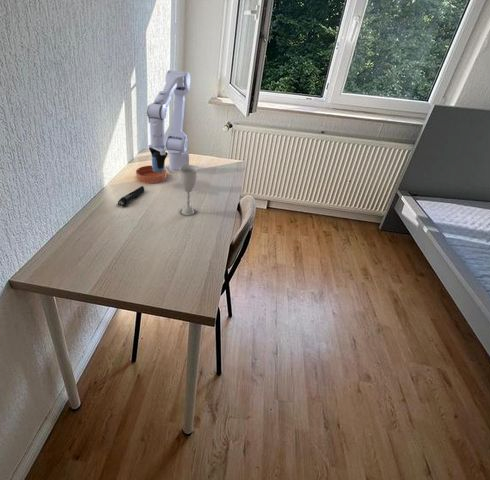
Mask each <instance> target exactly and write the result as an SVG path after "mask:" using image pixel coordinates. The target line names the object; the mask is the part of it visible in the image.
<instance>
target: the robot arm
mask: <svg viewBox="0 0 490 480" xmlns="http://www.w3.org/2000/svg"><path fill="white" fill-rule="evenodd" d="M191 81H192V80H191V74H190V72H189V71H181V70H172V69H171V70H170V69H169V70H167V71H166V72H165V85H164V86H163V89H162V90H160V91H159V92H158V93H157V95H156V97H155V98H154V100H153V102H152V103H150V104H148V105H147V107H146V116H147V120H148V123H149V135H150V144H148V145H147V147H148V150H149V151H150V155H151V156H152V155H153V154H154V155H155V158H156V161H157V167H158V169H161V168H163V166H164V162H166V158H167V156H168V165H166V168H167V169H168V170H169V171H170V173H174V172H181V171H180V169H179V168H180V167H181V166H184V165H190V154H189V151H188V146H189V142H188V141H189V140H188V139H189V137H188V135H187V134H186V133H185V132H184V130H183V127H184V117H185V107H186V106H185V105H186V97H187V94H188V93H190V90H191ZM173 93H174V102H173V113H172V114H173V115H172V124H171V125H172V127H171V130H170V131H169V132H168V133H166V136H165V119H166V117H167V114H168V113H167V112H168V107H169V105H170V104H171V102H172V94H173ZM166 150H167V151H166Z"/></svg>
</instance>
